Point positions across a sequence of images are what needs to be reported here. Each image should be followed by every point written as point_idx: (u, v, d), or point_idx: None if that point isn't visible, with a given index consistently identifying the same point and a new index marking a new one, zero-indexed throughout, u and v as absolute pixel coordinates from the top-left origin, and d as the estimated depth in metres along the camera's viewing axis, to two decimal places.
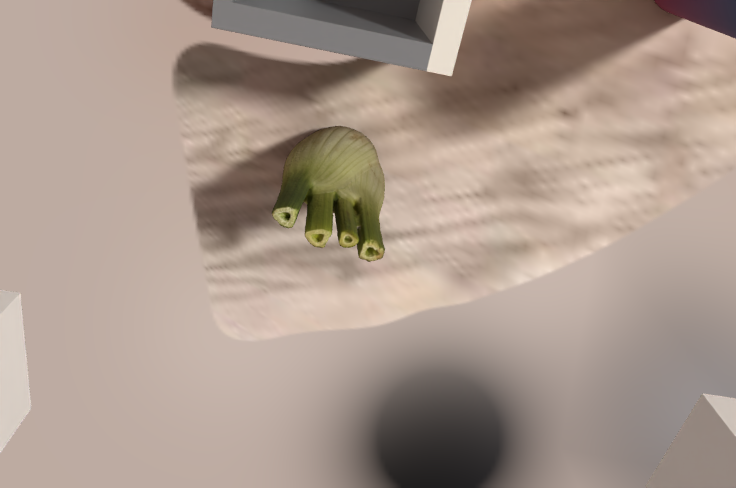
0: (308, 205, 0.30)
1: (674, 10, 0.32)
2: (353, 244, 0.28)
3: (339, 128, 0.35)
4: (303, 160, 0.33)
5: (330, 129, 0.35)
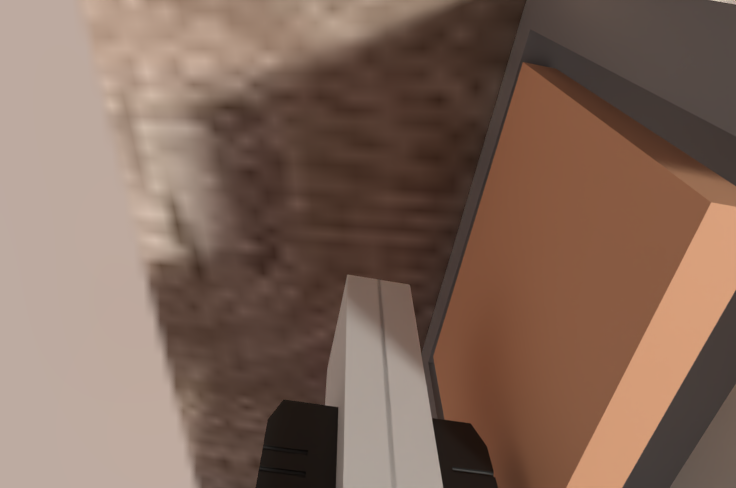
0: None
1: None
2: None
3: None
4: None
5: None
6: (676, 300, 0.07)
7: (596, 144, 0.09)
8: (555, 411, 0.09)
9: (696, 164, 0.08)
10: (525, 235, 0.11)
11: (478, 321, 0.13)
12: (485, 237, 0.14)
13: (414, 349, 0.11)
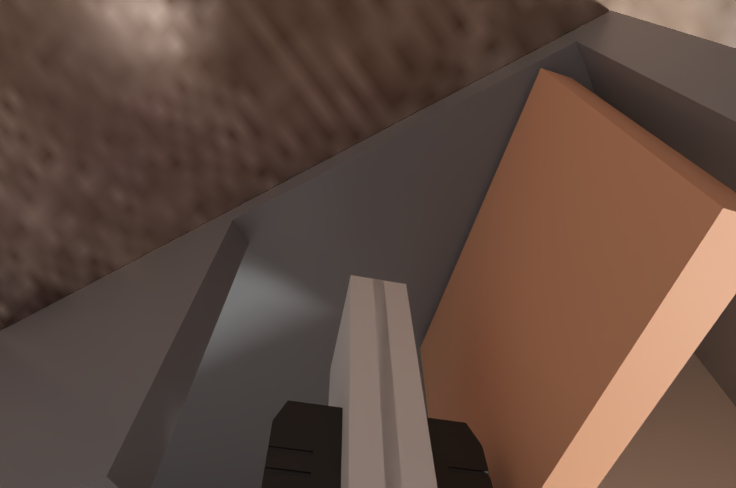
0: None
1: None
2: None
3: None
4: None
5: None
6: (678, 299, 0.07)
7: (611, 150, 0.09)
8: (546, 401, 0.09)
9: (707, 175, 0.08)
10: (529, 234, 0.12)
11: (472, 314, 0.14)
12: (486, 234, 0.14)
13: (409, 348, 0.11)
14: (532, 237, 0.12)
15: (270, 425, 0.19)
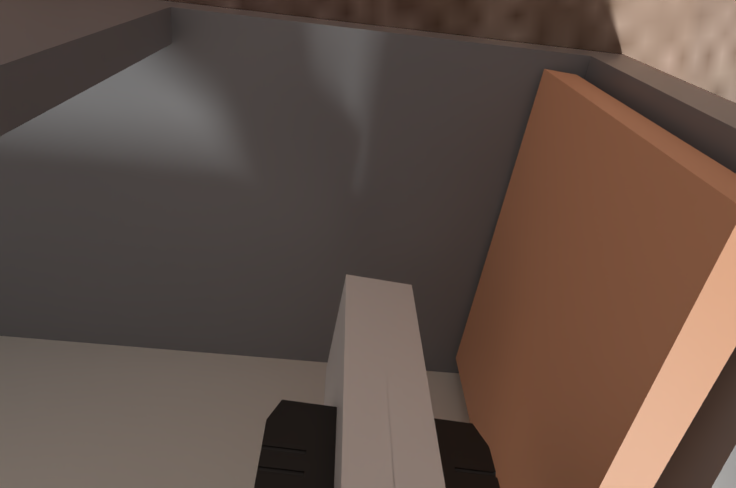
0: None
1: None
2: None
3: None
4: None
5: None
6: (708, 302, 0.07)
7: (623, 151, 0.09)
8: (587, 411, 0.09)
9: (724, 170, 0.08)
10: (551, 240, 0.12)
11: (503, 323, 0.14)
12: (508, 240, 0.14)
13: (416, 349, 0.11)
14: (554, 242, 0.11)
15: (62, 259, 0.16)
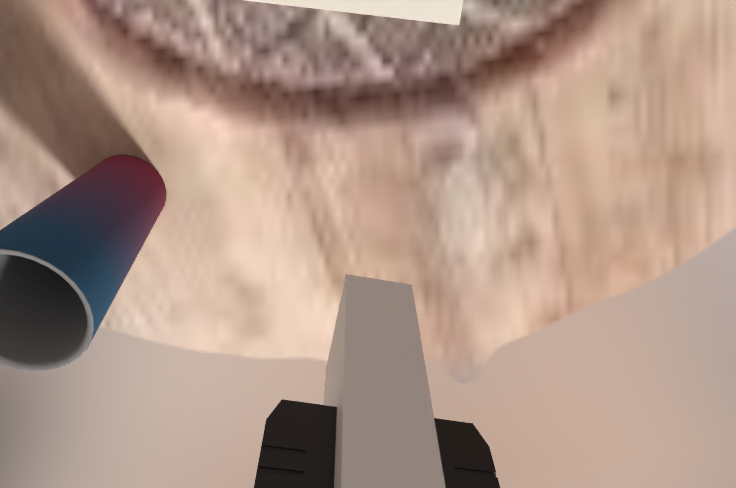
0: None
1: None
2: None
3: None
4: None
5: None
6: None
7: None
8: None
9: None
10: None
11: None
12: None
13: (416, 349, 0.11)
14: None
15: None
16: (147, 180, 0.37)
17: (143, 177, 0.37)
